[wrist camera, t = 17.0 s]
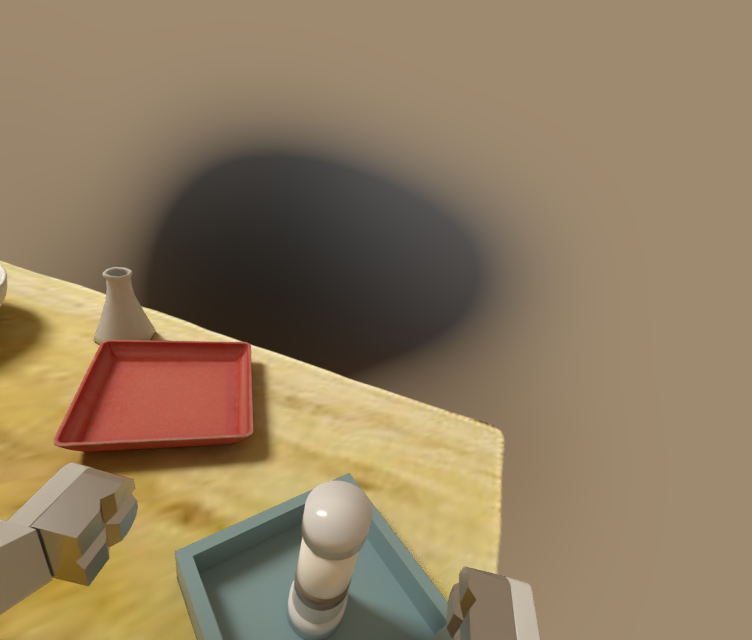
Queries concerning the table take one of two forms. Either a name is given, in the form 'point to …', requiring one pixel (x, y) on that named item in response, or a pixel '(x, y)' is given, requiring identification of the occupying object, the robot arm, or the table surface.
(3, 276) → the serving bowl
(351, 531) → the cylinder
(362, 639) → the tray
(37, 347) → the table surface
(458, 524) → the table surface
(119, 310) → the flask
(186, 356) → the plant saucer
